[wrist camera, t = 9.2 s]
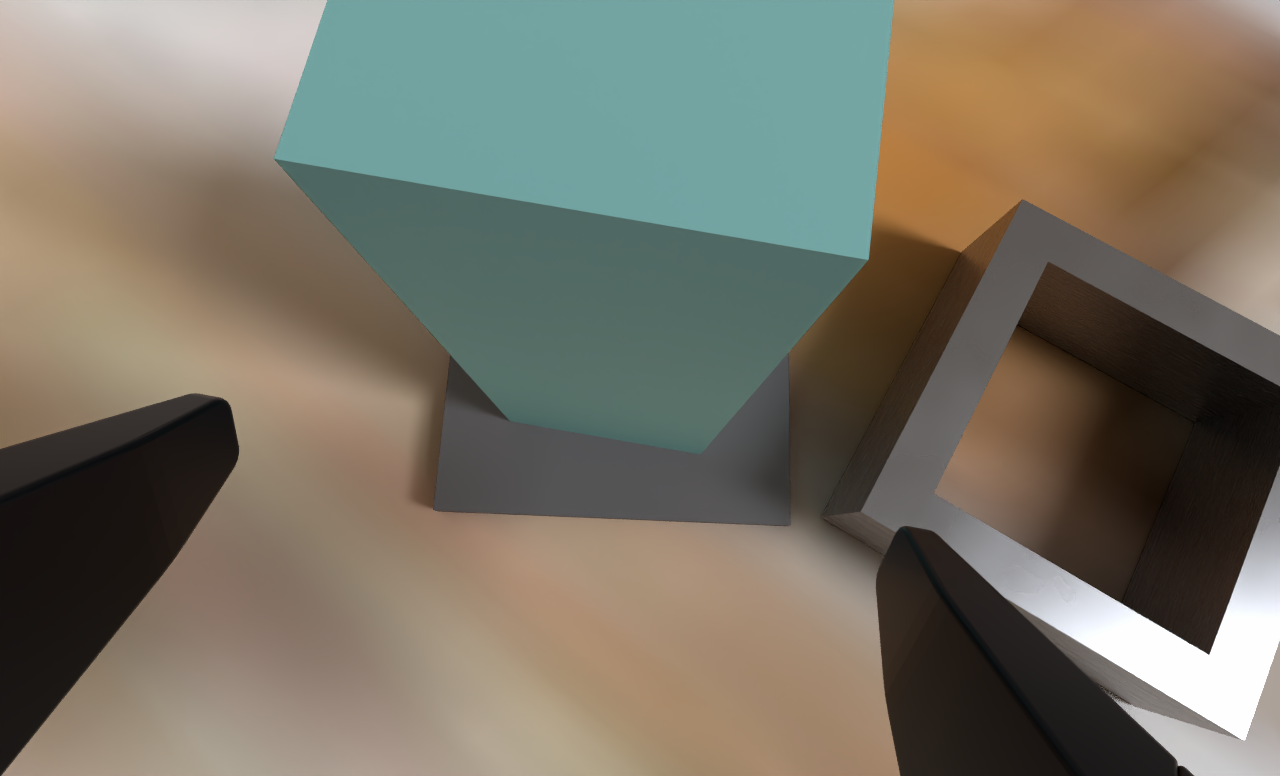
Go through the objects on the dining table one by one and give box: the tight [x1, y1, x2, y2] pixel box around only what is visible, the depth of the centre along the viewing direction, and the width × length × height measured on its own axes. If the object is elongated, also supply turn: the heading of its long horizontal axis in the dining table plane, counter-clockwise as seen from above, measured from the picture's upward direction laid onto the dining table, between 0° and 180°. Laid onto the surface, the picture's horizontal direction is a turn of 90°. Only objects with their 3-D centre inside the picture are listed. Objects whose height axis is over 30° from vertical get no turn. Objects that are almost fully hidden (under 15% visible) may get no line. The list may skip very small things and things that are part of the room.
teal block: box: [274, 0, 894, 454], centre depth 12 cm, size 5×5×12 cm
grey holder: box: [821, 199, 1280, 740], centre depth 16 cm, size 9×9×3 cm
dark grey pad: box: [433, 353, 791, 526], centre depth 18 cm, size 9×9×1 cm
